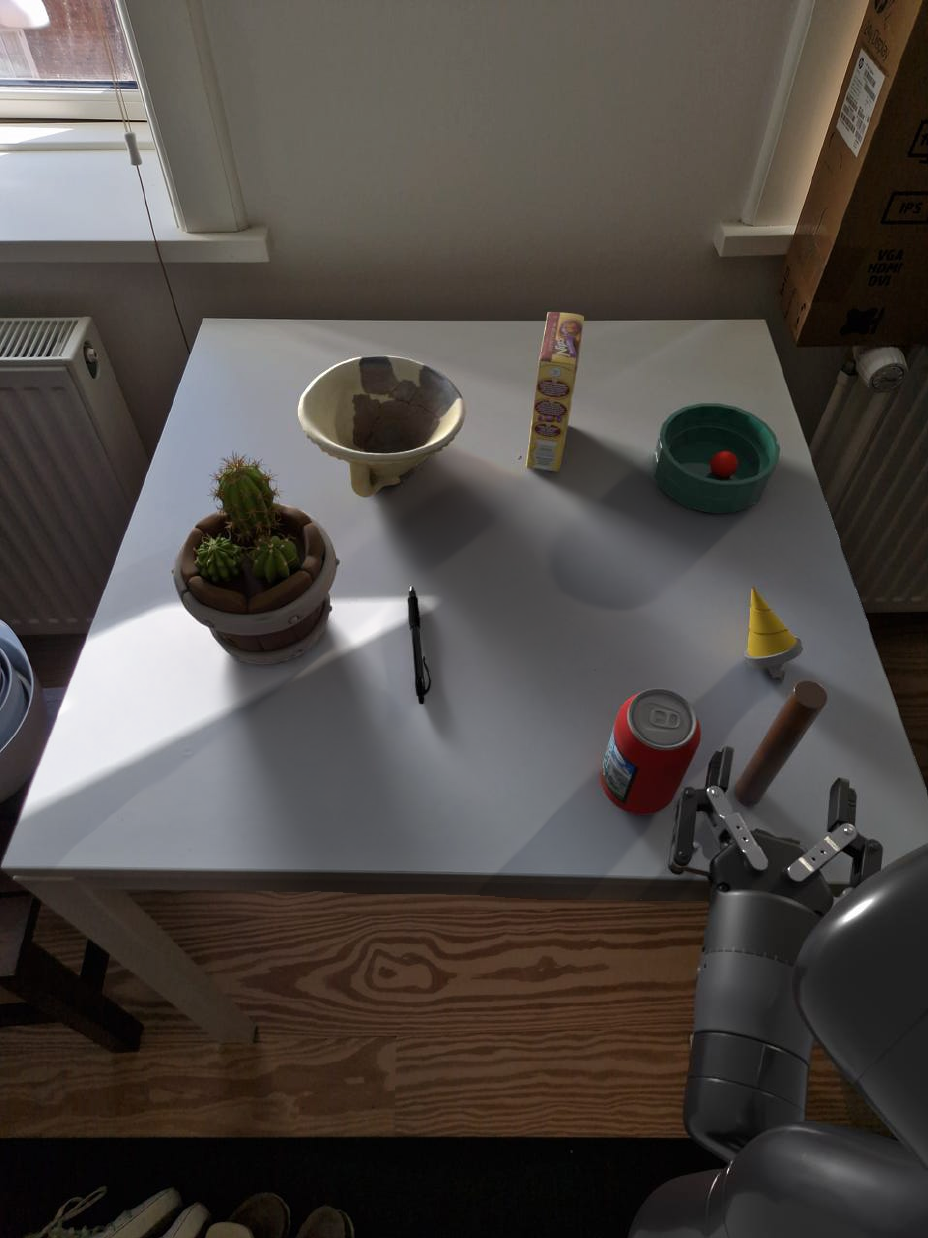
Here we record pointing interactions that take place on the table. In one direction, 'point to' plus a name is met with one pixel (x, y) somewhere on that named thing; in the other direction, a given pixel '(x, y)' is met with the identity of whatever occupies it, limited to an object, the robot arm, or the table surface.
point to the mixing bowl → (698, 439)
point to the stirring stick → (780, 740)
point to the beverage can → (650, 751)
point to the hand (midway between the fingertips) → (782, 766)
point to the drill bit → (769, 639)
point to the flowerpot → (257, 570)
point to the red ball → (724, 464)
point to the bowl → (381, 417)
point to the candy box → (554, 390)
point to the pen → (417, 647)
